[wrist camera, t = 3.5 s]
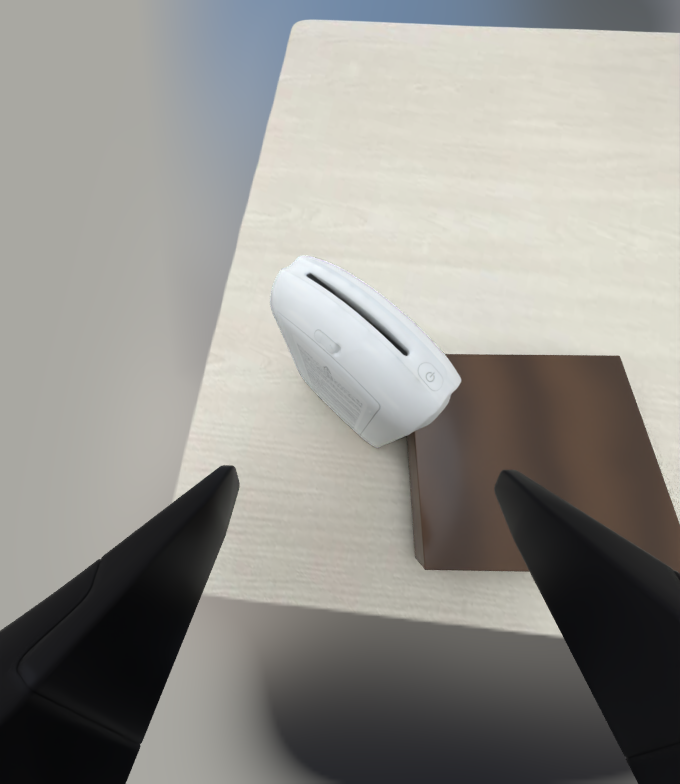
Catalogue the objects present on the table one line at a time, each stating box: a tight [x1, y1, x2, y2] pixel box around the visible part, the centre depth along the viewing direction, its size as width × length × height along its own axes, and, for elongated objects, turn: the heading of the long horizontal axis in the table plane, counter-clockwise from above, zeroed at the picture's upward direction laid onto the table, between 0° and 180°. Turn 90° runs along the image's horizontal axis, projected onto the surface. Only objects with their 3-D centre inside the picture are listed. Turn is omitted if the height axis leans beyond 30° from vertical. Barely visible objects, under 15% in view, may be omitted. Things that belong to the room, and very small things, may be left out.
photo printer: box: [270, 255, 461, 448], centre depth 15 cm, size 10×4×12 cm, turn 45°
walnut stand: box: [407, 354, 680, 573], centre depth 19 cm, size 17×15×2 cm
